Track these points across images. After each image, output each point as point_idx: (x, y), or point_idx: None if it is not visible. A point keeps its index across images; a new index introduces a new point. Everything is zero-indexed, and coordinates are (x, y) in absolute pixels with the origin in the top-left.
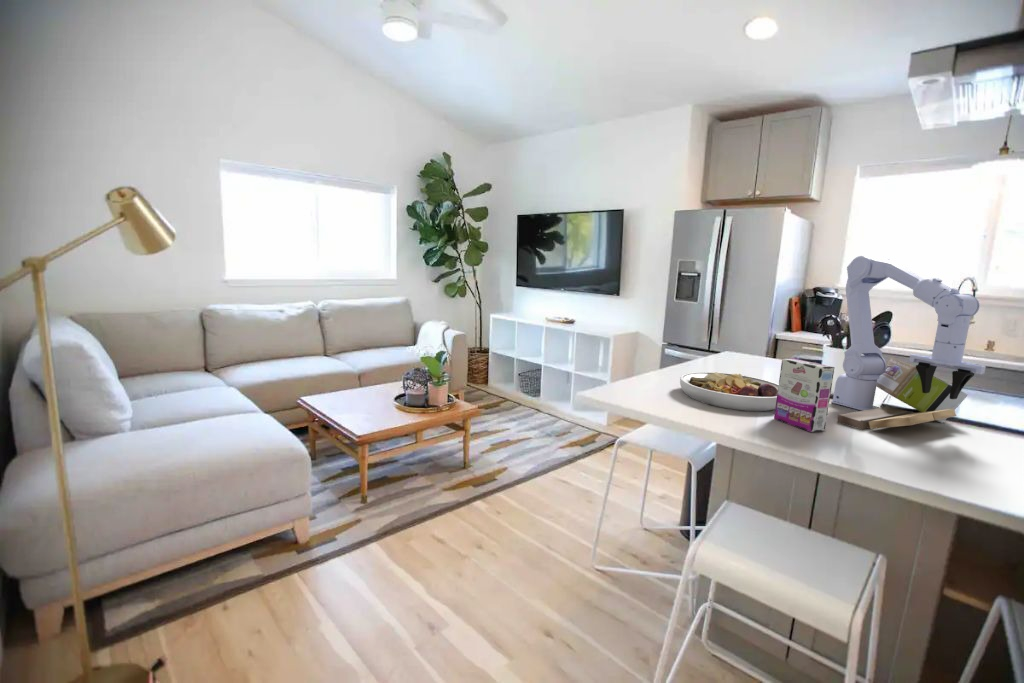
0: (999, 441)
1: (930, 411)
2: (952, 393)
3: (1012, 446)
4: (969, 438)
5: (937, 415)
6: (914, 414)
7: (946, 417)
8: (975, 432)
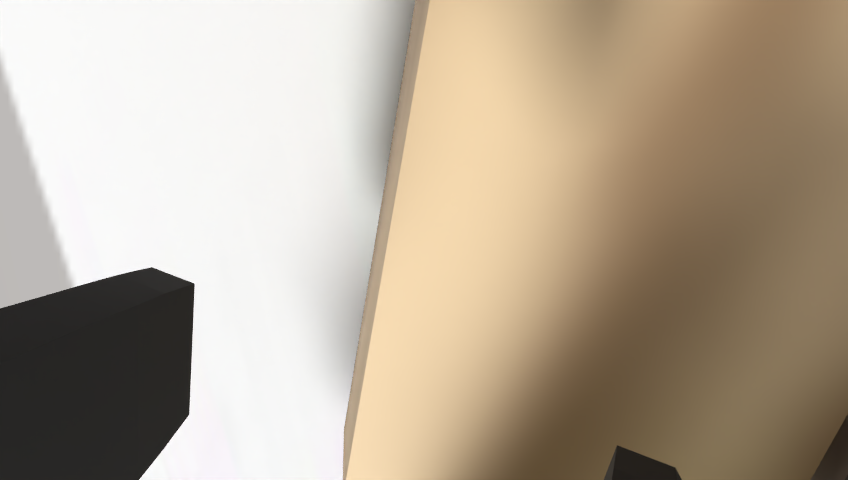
0: None
1: (589, 453)
2: (66, 306)
3: (69, 234)
4: (281, 197)
5: (418, 16)
6: (743, 11)
7: (379, 220)
8: (310, 452)
